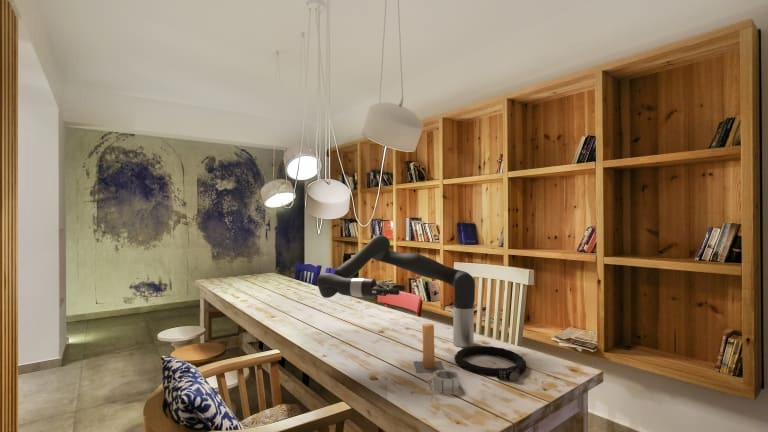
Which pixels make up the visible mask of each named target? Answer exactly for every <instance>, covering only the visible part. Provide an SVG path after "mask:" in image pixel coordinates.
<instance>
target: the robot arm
mask: <svg viewBox="0 0 768 432" xmlns="http://www.w3.org/2000/svg"><path fill="white" fill-rule="evenodd" d="M390 247H391V241H390V238H388V237H387V236H385V235H383V234H378V235H375V236H373V238H372V239H370V240H369V241H368V243H366V245H365V246H363V248H361V249H360V250H359V251H358V252H357V253H355V254H353V256H352V257H350V258H348V259H347V260H346V261H344V262H343V263H342V264H341V265H339V266H338V267H336V268H335V270H334V271H333V273H332V272H331V273H330V272H325V273H322V274H319V276H317V278H316V283H317V287H318V291H319V294H320V295H321V297H322V298H325V299H329V298H332V297H334V296H335V295H336V294H338V293H339V294H340V295H342V296H350V297H351V296H353V297H358V298H371V299H373V298H375V297H376V296H381V297H386V296H391V295H394V296H399V295H400V292H401V291H403V292H404V291H405V290H406V285H405V284H397V283H396V282H380V283H377V280H376V279H375V278H366V277H365V278H364V277H363V278H362V277H356V278H353V277H354V276H355V275H357V273H359V271H362V268H364V267H365V265H366V264H367V263H368V262H369V261H370V260H372V259H373V260H375V261H378V262H381V263H385V264H388V265H392V266H395V267H398V268H400V269H402V270H406V271H409V272H411V273H413V274H415V275H418V276H421V277H424V278H428V279H432V280H435V281H436V280H438V281H441V282H442V283H443V282H444V283H445V284H448V285H450V286H452V287H453V290H454V292H453V293H454V295H453V296H454V298H453V301H452V302H453V303H452V304H453V305H452V306H453V314H452V317H453V321H452V322H453V323H452V324H453V331H452V332H453V333H452V334H453V338H452V339H453V343H452V344H453V345H454V346H457V347H460V348H467V347H472V346H474V345H475V340H474V339H475V337H474V335H475V333H474V330H475V325H474V324H475V323H474V319H475V317H474V316H475V315H474V313H475V309H474V304H475V301H476V300H475V299H476V282H475V279H474V277H473V276H472V275H471V274H470V273H469V272H467V271H464V270H461V269H457V268H453V267H449V266H447V265H444V264H442V263H440V262H438V261H437V260H435V259H432V258H430V257H428V256H426V255H422V254H421V253H417V252H398V251H395V250H393V249H390Z"/></svg>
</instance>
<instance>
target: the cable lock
mask: <svg viewBox="0 0 768 432" xmlns="http://www.w3.org/2000/svg"><path fill="white" fill-rule="evenodd" d="M475 355H480V356H481V355H489V356H495V357H496V356H497V357H500V358H504V359H508V360H510V361H512V362H514V363H515V365H512V366H507V367H488V366H482V365H477V364H475V363H471V362H469V361H467V360H466V359H465V358H468V357H469V356H475ZM454 362H455V364H456V365H457V366H459V367H460V368H461V369H463V370H465V371H468V372H470V373H473V374H477V375H483V376H486V377H496V378H497V379H499V380H506V381H508V382H511V383H512V382H518V380H519V377H520V375H522V373H524V372H526V369H527V362H526V360H525V359H524V357H523V356H521V355H520V354H519V353H516V352H514V351H512V350H509V349H506V348H504V347H497V346H496V347H495V346H489V345H488V346H487V345H475V346H474V345H473V346H472V347H463V348H461V349H460V350H457V352H456V354H455V355H454Z"/></svg>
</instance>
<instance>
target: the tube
mask: <svg viewBox="0 0 768 432" xmlns="http://www.w3.org/2000/svg"><path fill="white" fill-rule="evenodd" d="M421 328H422V329H421V331H422V361H423V367H424V368H426V369H433V368H435V361H436V360H435V357H436V356H435V325H434V324H433V323H423V324H422V327H421Z"/></svg>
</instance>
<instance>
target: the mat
mask: <svg viewBox="0 0 768 432" xmlns="http://www.w3.org/2000/svg"><path fill="white" fill-rule="evenodd" d="M413 365H414V368H415V369H414V370H415V371H416V374H432V373H433V372H435V371H437V370H446V369H445V367H444V365H443V362H442V361H441V360H437V361H436V360H435V368H433V369H426V368H424V367H423V360H422V361H421V360H420V361H419V360H417V361H413Z"/></svg>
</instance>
